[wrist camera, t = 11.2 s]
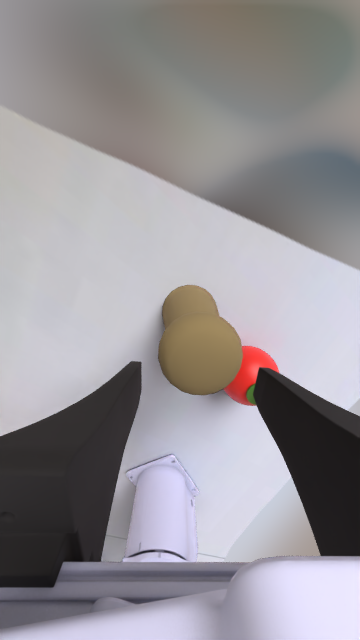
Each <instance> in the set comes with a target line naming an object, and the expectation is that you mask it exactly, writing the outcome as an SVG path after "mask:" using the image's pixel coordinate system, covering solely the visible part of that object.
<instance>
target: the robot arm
mask: <svg viewBox="0 0 360 640" xmlns="http://www.w3.org/2000/svg"><path fill="white" fill-rule="evenodd" d="M140 395H141V362H135V361H131V362H130V363H129V364H127V365H126V366H125V367H124V368H123V369H122V370H121V371H120V372H119V373H117V374H116V375H115V376H114V377H113V378H111V379H110V380H109V381H108V382H106V383H105V384H104V385H103V386H101V387H100V388H99V389H97V390H96V391H94V392H93V393H91V394H90V395H88V396H87V397H85V398H83V399H82V400H80V401H78V402H77V403H75V404H73V405H71V406H69V407H67V408H66V409H64V410H62V411H60V412H58V413H56V414H54V415H52V416H50V417H47V418H45V419H43V420H41V421H38V422H36V423H34V424H31V425H29V426H26V427H24V428H21V429H19V430H16V431H13V432H11V433H8V434H5V435H3V436H0V640H360V416H358V415H356V414H353V413H351V412H349V411H347V410H345V409H343V408H341V407H338V406H336V405H334V404H332V403H330V402H328V401H326V400H324V399H323V398H321V397H319V396H317V395H315V394H314V393H312V392H310V391H308V390H306V389H305V388H303V387H301V386H300V385H298V384H296V383H295V382H293V381H291V380H290V379H288V378H286V377H285V376H283V375H281V374H280V373H278V372H276V371H274V370H273V369H271V368H266V367H259V370H258V374H257V378H256V383H255V387H254V392H253V397H254V399H255V402H256V405H257V407H258V410H259V412H260V414H261V416H262V418H263V420H264V422H265V423H266V425H267V427H268V429H269V431H270V433H271V435H272V436H273V438H274V440H275V442H276V444H277V446H278V448H279V450H280V452H281V454H282V456H283V458H284V460H285V462H286V465H287V467H288V469H289V472H290V474H291V476H292V478H293V481H294V484H295V486H296V489H297V491H298V494H299V496H300V499H301V501H302V503H303V507H304V509H305V512H306V515H307V517H308V520H309V523H310V526H311V528H312V531H313V534H314V537H315V540H316V543H317V546H318V549H319V552H320V554H321V556H276V557H269V558H262V559H257V560H255V561H253V562H251V563H239V562H238V563H237V562H236V563H235V562H233V563H232V562H231V563H230V562H226V563H225V562H196V561H197V555H198V542H197V529H196V516H195V503H194V497H195V496H197V495H199V490H198V488H197V487H196V486H195V484H194V483H193V481H192V480H191V478H190V477H189V476H188V474H187V473H186V471H185V470H184V469H183V467H182V466H181V464H180V463H179V462H178V460H177V459H176V457H175V456H174V455H169V456H166V457H163V458H161V459H158V460H156V461H153V462H150V463H148V464H145V465H142V466H140V467H137V468H134V469H132V470H129V471H127V474H126V476H127V477H128V478H129V479H130V481H131V482H132V483H133V484H134V485H135V486H136V493H135V499H134V504H133V510H132V516H131V522H130V527H129V533H128V539H127V545H126V550H125V556H124V558H123V559H122V562H100V561H101V556H102V551H103V545H104V540H105V535H106V530H107V526H108V521H109V516H110V511H111V506H112V502H113V497H114V492H115V488H116V483H117V479H118V474H119V470H120V465H121V461H122V457H123V453H124V449H125V445H126V442H127V439H128V436H129V433H130V430H131V427H132V424H133V421H134V418H135V415H136V412H137V408H138V405H139V400H140Z"/></svg>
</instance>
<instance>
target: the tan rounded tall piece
mask: <svg viewBox="0 0 360 640" xmlns="http://www.w3.org/2000/svg"><path fill="white" fill-rule="evenodd" d="M162 316H163V321H164V325H165V331H164V333H163V335H162V338H161V340H160V343H159V351H158V359H159V363H160V366H161V369H162V372H163V374H164V376H165V377H166V378H167V380H168V381H169V382H170V383H171V384H172V385H174V386H175V387H177V388H178V389H179V390H181V391H183V392H186V393H189V394H192V395H208V394H213V393H216V392H218V391H220V390H222V389H224V388H226V387H227V386H228V385H229V384H230V383H231V382H232V381H233V380H234V378H235V377H236V375H237V373H238V372H239V370H240V368H241V364H242V359H243V352H242V345H241V340H240V338H239V336H238V334H237V333H236V331H235V329H234V328H233V327H232V326H231V325H230V324H229V323H228V322H227V321H226V320H224V319H223V318H222V317H220V316H219V313H218V310H217V306H216V303H215V301H214V299H213V297H212V295H211V294H210V293H209V292H207V291H206V290H205V289H203V288H201V287H199V286H195V285H185V286H181V287H178V288H177V289H175V290H173V291H172V292H171V293H170V294H169V295H168V296H167V298H166V299H165V302H164V304H163V310H162Z"/></svg>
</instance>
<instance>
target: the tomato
mask: <svg viewBox="0 0 360 640" xmlns="http://www.w3.org/2000/svg"><path fill="white" fill-rule="evenodd" d="M242 352H243V359H242V364H241V368H240V370H239V372H238V373H237V375H236V377H235V378H234V380H233V381H232V382H231V383H230V384H229V385H228V386H227V387H226V388H224V391H225V392H226V393H227V395H228V396H230V397H231V398H232V399H233V400H235V401H236V402H238V403H241V404H244V405H249V406H256V402H255V399H254V397H253V392H254V387H255V383H256V378H257V374H258V370H259V367H266V368H271V369H273V370H274V371H276V372H278V373H279V370H278V367H277V365H276V363H275V362H274V360H273V359H272V358H271V357H270V355H268V354H267V353H266V352H264V351H263V350H261V349H259V348H256V347H252V346H242Z"/></svg>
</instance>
